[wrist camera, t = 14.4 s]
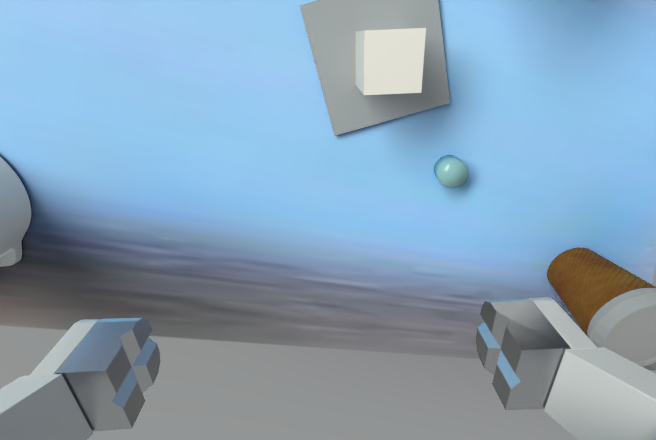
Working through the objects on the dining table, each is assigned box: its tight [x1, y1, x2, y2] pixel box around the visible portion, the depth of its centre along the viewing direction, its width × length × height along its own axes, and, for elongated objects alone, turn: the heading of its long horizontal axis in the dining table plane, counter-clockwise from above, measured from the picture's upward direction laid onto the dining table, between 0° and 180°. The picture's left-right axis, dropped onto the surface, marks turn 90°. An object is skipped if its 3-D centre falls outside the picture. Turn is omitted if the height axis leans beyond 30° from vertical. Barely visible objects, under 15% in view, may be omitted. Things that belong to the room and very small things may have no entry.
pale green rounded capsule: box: [434, 155, 468, 188], centre depth 39 cm, size 3×3×2 cm
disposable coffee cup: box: [547, 248, 656, 367], centre depth 41 cm, size 10×10×12 cm
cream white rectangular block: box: [356, 28, 426, 95], centre depth 31 cm, size 5×5×7 cm
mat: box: [300, 0, 450, 135], centre depth 34 cm, size 12×12×1 cm
